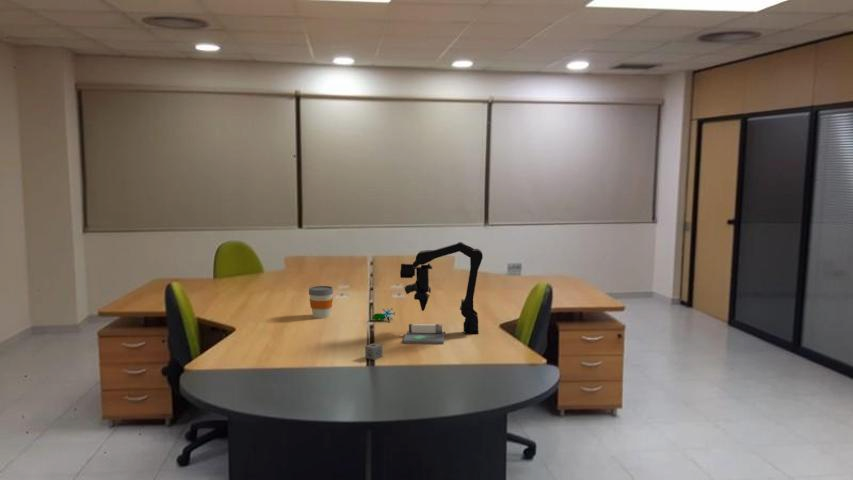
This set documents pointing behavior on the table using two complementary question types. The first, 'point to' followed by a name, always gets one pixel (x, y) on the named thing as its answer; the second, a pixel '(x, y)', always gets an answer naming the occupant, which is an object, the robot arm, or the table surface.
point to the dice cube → (373, 351)
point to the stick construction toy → (383, 315)
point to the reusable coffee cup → (321, 301)
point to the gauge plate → (424, 338)
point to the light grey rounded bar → (425, 328)
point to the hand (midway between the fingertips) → (422, 310)
